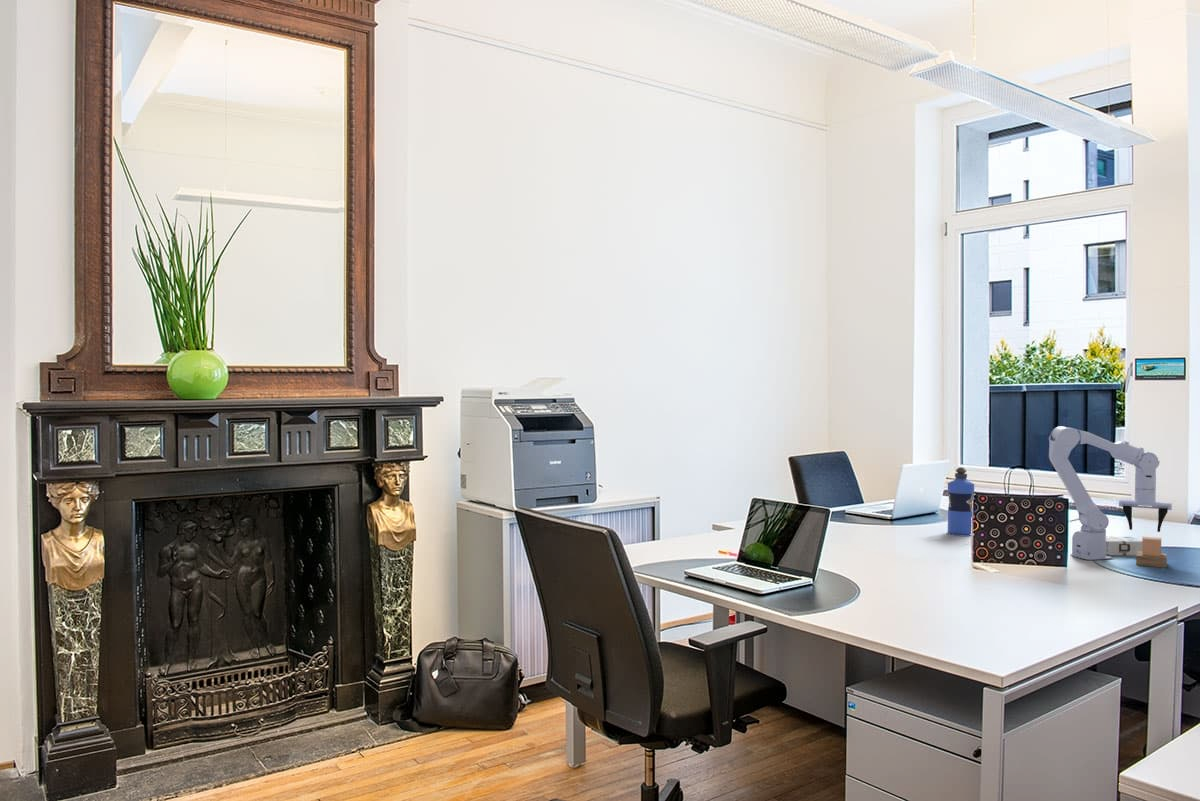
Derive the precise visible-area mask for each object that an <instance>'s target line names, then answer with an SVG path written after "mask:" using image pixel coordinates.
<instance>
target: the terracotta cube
mask: <svg viewBox="0 0 1200 801" xmlns="http://www.w3.org/2000/svg"><path fill="white" fill-rule="evenodd" d="M1161 553H1162V537H1155V536H1154V537H1153V536H1142V555H1151V556H1161Z"/></svg>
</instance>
